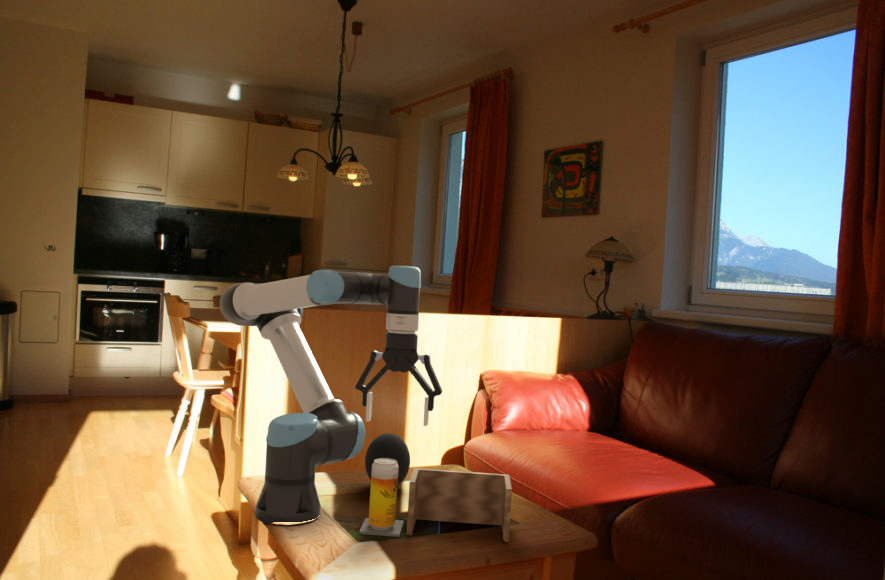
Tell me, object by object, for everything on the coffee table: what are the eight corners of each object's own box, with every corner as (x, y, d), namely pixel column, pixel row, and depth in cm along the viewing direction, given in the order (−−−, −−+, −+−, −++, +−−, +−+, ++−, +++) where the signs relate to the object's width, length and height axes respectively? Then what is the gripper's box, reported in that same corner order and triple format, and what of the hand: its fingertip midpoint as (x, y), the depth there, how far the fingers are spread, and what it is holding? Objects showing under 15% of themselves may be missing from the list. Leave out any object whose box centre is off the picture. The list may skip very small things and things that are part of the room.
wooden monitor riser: (406, 534, 156) (409, 481, 155) (411, 517, 168) (414, 467, 167) (508, 542, 155) (511, 489, 154) (506, 524, 167) (509, 474, 166)
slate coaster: (359, 533, 155) (359, 531, 155) (365, 520, 164) (365, 517, 164) (399, 536, 154) (399, 534, 154) (403, 523, 163) (403, 520, 163)
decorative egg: (373, 496, 182) (376, 440, 181) (356, 483, 193) (360, 430, 192) (415, 492, 187) (419, 437, 187) (397, 480, 198) (400, 428, 198)
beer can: (390, 532, 155) (395, 465, 155) (364, 528, 156) (369, 462, 156) (397, 523, 161) (401, 459, 161) (372, 520, 162) (376, 456, 162)
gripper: (345, 329, 159) (340, 421, 159) (453, 336, 156) (448, 429, 156) (353, 327, 166) (348, 415, 166) (456, 334, 164) (451, 423, 164)
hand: (397, 422), depth 161 cm, fingers open, 13 cm apart
